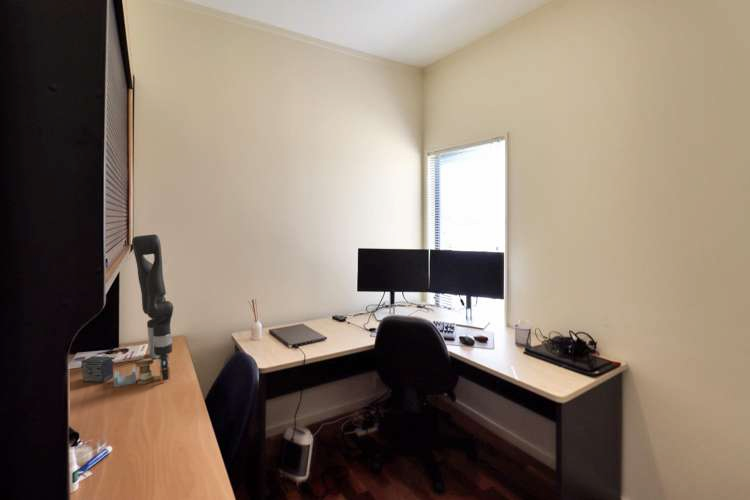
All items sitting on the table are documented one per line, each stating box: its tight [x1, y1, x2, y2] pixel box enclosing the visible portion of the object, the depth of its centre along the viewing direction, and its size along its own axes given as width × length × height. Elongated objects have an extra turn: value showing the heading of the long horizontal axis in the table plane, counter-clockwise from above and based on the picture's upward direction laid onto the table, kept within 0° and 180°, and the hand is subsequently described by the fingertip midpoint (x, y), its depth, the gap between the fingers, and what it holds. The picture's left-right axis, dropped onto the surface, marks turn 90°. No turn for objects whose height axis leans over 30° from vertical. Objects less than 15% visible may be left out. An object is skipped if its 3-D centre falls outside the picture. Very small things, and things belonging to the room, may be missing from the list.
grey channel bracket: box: [112, 366, 137, 388], centre depth 168 cm, size 8×8×4 cm
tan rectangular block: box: [159, 365, 171, 382], centre depth 172 cm, size 3×4×6 cm
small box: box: [81, 355, 114, 384], centre depth 170 cm, size 11×6×10 cm, turn 84°
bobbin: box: [135, 357, 155, 385], centre depth 169 cm, size 7×7×10 cm
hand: (165, 376), depth 172 cm, fingers open, 6 cm apart
